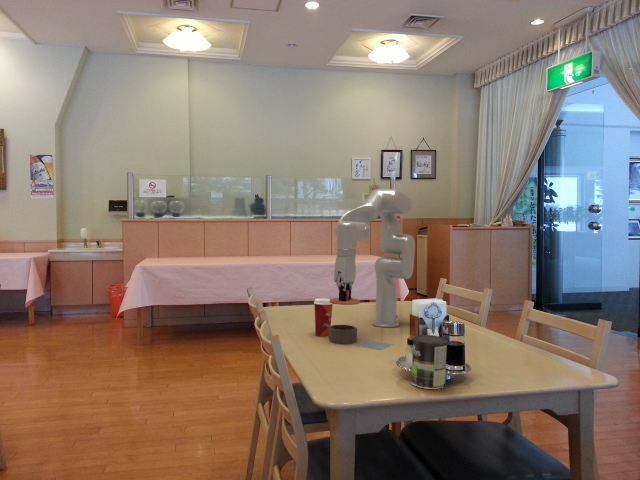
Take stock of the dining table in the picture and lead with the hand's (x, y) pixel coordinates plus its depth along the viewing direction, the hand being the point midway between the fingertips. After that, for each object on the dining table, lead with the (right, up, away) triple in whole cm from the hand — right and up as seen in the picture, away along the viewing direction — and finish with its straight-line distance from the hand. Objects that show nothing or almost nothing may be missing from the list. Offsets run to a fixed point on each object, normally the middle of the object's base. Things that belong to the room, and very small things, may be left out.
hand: (344, 299), depth 214 cm
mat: (+11, -18, -4) cm, 21 cm away
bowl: (-1, -17, +1) cm, 17 cm away
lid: (0, -1, 0) cm, 1 cm away
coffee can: (+23, -21, -49) cm, 58 cm away
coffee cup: (-9, -17, +13) cm, 23 cm away
